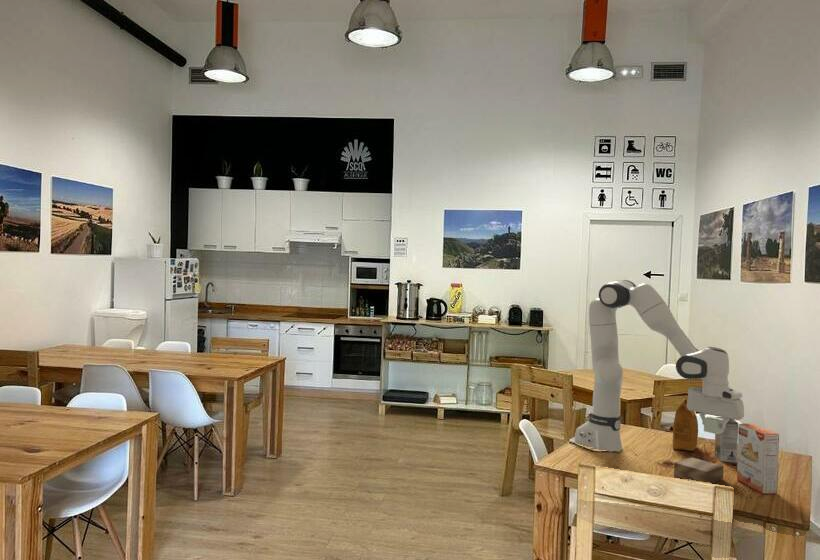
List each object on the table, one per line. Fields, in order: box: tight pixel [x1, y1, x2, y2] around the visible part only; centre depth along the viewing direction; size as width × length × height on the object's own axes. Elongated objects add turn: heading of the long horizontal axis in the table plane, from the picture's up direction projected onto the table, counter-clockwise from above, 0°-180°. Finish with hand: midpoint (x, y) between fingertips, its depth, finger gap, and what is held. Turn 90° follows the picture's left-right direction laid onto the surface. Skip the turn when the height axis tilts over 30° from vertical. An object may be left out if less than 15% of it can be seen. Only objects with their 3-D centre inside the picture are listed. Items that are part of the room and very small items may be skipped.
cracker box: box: [736, 423, 780, 495], centre depth 211 cm, size 14×6×21 cm, turn 5°
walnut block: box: [673, 456, 724, 484], centre depth 219 cm, size 12×12×5 cm
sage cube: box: [703, 416, 724, 434], centre depth 227 cm, size 5×5×5 cm
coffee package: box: [671, 396, 699, 452], centre depth 257 cm, size 10×12×22 cm
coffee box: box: [714, 416, 739, 464], centre depth 244 cm, size 9×6×16 cm
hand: (713, 426), depth 227 cm, fingers closed on sage cube, 5 cm apart
